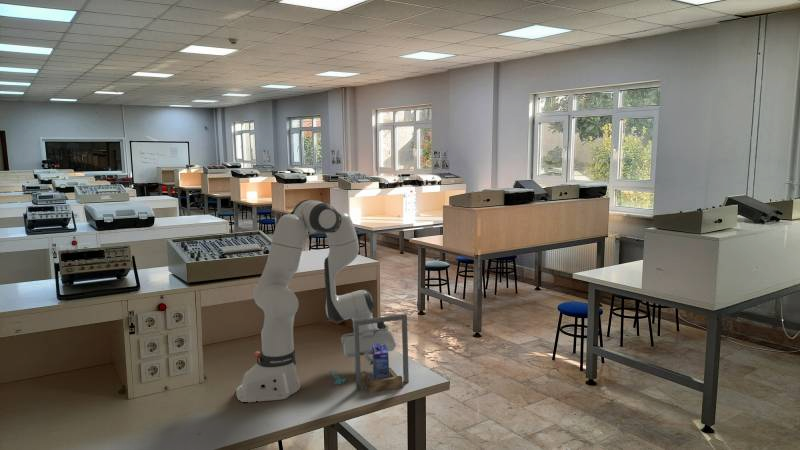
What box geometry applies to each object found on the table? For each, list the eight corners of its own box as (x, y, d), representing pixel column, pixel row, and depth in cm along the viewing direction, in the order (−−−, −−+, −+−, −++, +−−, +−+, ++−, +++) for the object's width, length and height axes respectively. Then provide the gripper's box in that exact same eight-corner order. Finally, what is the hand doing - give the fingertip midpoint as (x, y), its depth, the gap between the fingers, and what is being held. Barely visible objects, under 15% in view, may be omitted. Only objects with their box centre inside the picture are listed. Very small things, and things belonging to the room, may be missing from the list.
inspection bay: (370, 393, 194) (369, 382, 194) (360, 378, 207) (359, 368, 206) (402, 387, 198) (402, 377, 198) (390, 373, 211) (390, 363, 210)
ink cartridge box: (372, 375, 210) (371, 338, 208) (386, 374, 211) (386, 337, 209) (375, 386, 200) (374, 347, 198) (390, 384, 201) (389, 346, 199)
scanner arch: (357, 391, 196) (354, 322, 193) (355, 388, 199) (353, 320, 195) (409, 382, 203) (407, 315, 199) (406, 380, 205) (405, 313, 201)
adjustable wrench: (348, 381, 204) (335, 384, 202) (348, 383, 204) (335, 386, 202) (336, 368, 216) (324, 370, 214) (336, 370, 217) (324, 372, 215)
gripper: (340, 331, 212) (348, 364, 204) (391, 324, 219) (400, 356, 211) (338, 338, 217) (345, 371, 209) (388, 331, 223) (397, 363, 216)
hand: (373, 363), depth 210 cm, fingers closed
